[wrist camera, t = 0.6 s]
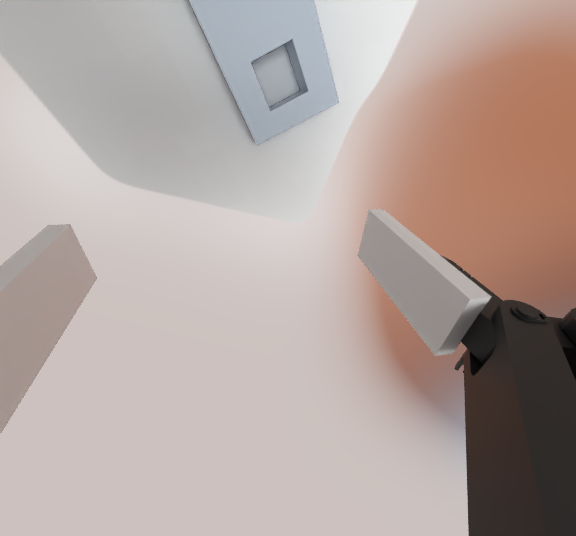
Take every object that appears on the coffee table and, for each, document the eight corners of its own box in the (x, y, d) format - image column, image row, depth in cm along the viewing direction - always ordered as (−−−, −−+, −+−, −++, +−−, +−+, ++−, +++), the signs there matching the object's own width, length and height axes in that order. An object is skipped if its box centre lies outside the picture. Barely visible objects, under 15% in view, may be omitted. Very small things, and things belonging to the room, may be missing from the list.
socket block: (149, -85, 21) (137, -111, 18) (260, -155, 20) (266, -194, 17) (253, 140, 31) (256, 145, 29) (328, 100, 31) (339, 102, 28)
